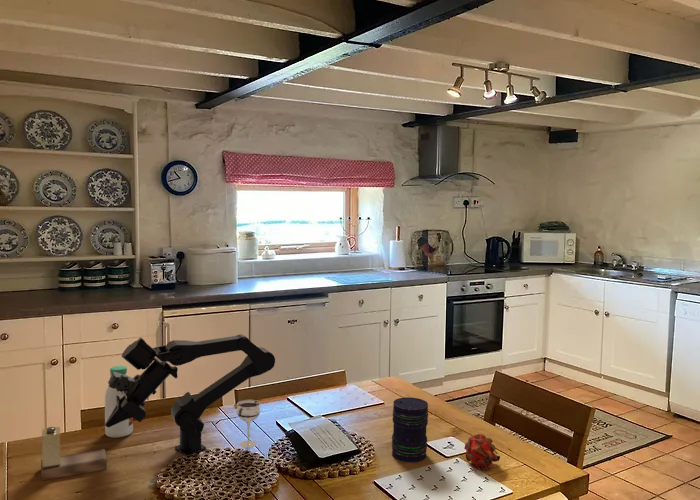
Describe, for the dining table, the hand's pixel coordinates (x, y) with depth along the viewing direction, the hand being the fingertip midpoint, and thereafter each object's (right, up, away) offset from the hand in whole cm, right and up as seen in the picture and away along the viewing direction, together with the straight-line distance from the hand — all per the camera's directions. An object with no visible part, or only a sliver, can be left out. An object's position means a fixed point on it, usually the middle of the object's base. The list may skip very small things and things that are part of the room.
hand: (106, 426), depth 152 cm
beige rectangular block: (-12, -7, -5) cm, 15 cm away
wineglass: (+35, -10, +15) cm, 39 cm away
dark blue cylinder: (+81, -11, +10) cm, 82 cm away
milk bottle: (-5, -9, +21) cm, 23 cm away
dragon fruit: (+100, -12, +5) cm, 101 cm away
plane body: (-7, -10, -3) cm, 13 cm away
